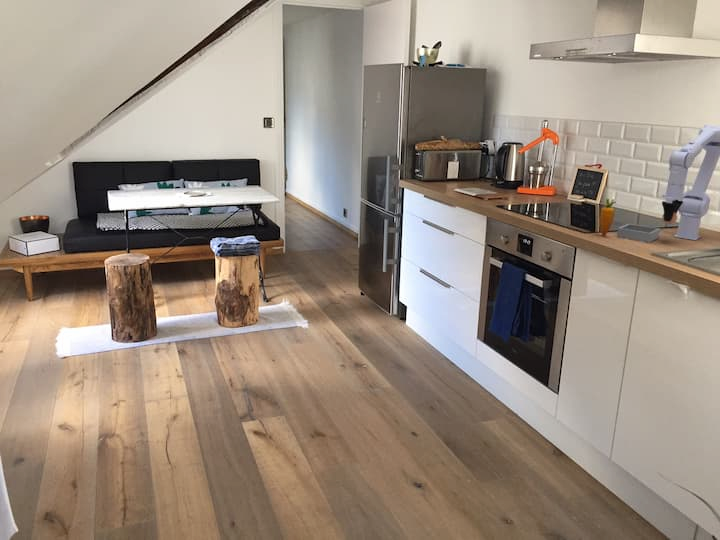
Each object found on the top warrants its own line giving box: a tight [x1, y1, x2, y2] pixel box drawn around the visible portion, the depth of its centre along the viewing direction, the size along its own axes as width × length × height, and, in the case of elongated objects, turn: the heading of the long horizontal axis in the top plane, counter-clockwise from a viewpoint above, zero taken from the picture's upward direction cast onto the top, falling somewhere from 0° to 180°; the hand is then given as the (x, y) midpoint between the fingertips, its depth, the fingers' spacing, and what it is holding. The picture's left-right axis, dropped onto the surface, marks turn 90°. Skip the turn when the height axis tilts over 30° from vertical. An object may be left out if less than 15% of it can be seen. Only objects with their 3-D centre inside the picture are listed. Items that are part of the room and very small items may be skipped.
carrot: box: [599, 197, 617, 237], centre depth 231 cm, size 5×5×15 cm
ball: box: [661, 212, 678, 225], centre depth 227 cm, size 5×5×5 cm
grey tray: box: [616, 223, 661, 244], centre depth 235 cm, size 14×12×4 cm
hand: (669, 220), depth 227 cm, fingers closed on ball, 5 cm apart
